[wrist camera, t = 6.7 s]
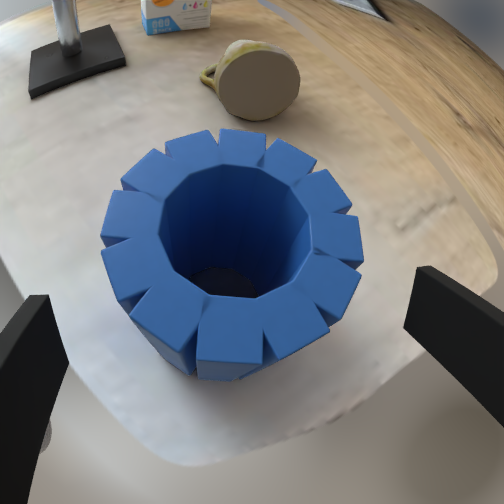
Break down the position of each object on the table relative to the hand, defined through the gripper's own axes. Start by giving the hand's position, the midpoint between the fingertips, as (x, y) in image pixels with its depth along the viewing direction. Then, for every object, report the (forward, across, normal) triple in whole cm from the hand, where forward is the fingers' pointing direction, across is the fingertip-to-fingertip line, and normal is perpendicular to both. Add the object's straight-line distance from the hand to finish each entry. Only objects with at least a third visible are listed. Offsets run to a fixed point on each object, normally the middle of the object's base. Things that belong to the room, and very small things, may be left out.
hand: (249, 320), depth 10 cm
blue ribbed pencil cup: (+8, 0, -4) cm, 9 cm away
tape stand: (+29, -15, +17) cm, 37 cm away
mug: (+23, +4, +10) cm, 26 cm away
